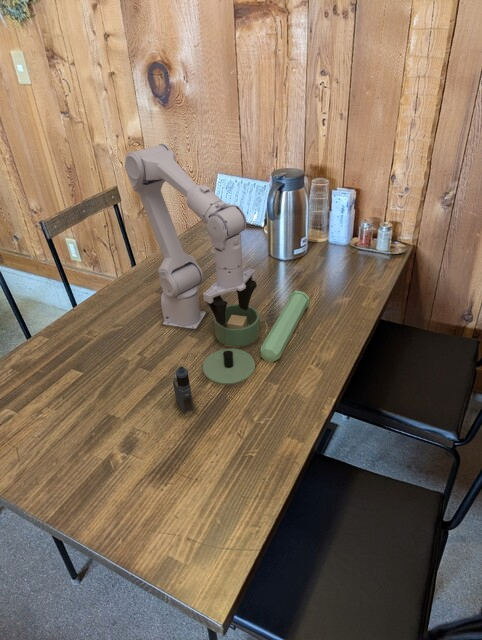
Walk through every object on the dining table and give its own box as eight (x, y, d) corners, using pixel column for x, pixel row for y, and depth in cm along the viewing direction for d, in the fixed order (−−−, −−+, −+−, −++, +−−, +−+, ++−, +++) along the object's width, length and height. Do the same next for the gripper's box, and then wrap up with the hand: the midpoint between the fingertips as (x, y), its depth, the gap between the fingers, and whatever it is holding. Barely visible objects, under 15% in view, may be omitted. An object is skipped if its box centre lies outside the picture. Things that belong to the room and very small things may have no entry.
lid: (195, 381, 100) (193, 366, 97) (213, 348, 109) (212, 334, 106) (246, 390, 96) (246, 375, 94) (261, 356, 106) (260, 341, 103)
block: (227, 336, 112) (226, 323, 110) (232, 327, 115) (231, 314, 113) (243, 338, 111) (242, 325, 109) (247, 329, 114) (246, 316, 112)
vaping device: (184, 418, 91) (177, 374, 84) (175, 402, 95) (167, 358, 88) (196, 413, 92) (189, 369, 85) (186, 397, 95) (179, 354, 89)
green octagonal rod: (274, 345, 99) (305, 288, 117) (251, 348, 102) (286, 292, 121) (283, 366, 101) (313, 307, 120) (261, 368, 105) (293, 310, 123)
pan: (209, 344, 110) (207, 326, 107) (223, 319, 119) (222, 301, 116) (252, 351, 107) (252, 332, 104) (264, 324, 116) (264, 307, 113)
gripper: (217, 282, 89) (222, 336, 97) (265, 256, 98) (265, 308, 105) (194, 271, 93) (200, 324, 101) (241, 247, 102) (244, 298, 110)
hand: (232, 315), depth 104 cm, fingers open, 7 cm apart
